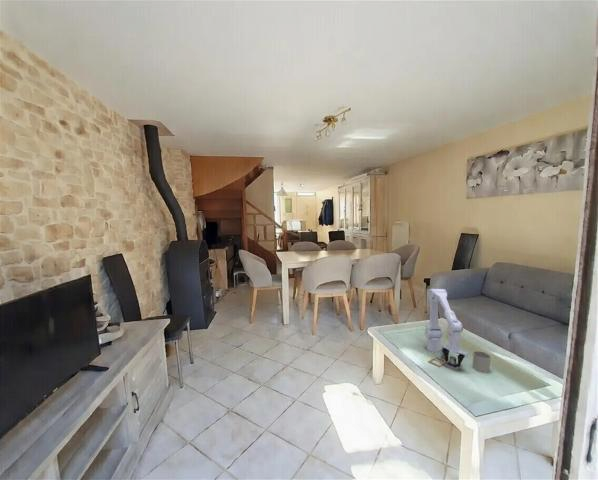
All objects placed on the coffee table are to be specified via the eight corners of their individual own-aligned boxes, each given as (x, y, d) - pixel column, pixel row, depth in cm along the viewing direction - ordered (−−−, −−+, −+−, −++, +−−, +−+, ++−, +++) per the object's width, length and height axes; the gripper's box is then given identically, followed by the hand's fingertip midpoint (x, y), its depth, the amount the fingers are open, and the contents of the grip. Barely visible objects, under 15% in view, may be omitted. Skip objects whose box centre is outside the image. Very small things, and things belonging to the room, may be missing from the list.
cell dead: (442, 356, 171) (442, 346, 171) (447, 358, 168) (448, 349, 168) (439, 358, 169) (440, 348, 169) (445, 360, 166) (446, 350, 166)
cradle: (450, 362, 165) (451, 358, 165) (463, 367, 159) (463, 363, 159) (443, 367, 159) (444, 363, 159) (456, 373, 153) (456, 368, 153)
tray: (435, 359, 169) (435, 356, 169) (446, 363, 164) (446, 361, 163) (427, 363, 163) (428, 361, 163) (439, 368, 157) (439, 366, 157)
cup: (485, 368, 160) (487, 352, 159) (491, 375, 152) (493, 359, 151) (470, 366, 162) (471, 350, 161) (475, 373, 154) (476, 356, 153)
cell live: (450, 364, 160) (451, 354, 160) (456, 367, 158) (457, 357, 157) (448, 366, 158) (449, 356, 158) (454, 369, 156) (455, 358, 155)
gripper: (438, 338, 160) (437, 360, 161) (464, 348, 149) (463, 371, 150) (443, 336, 165) (442, 357, 166) (469, 344, 153) (468, 367, 154)
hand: (452, 363), depth 158 cm, fingers open, 6 cm apart
